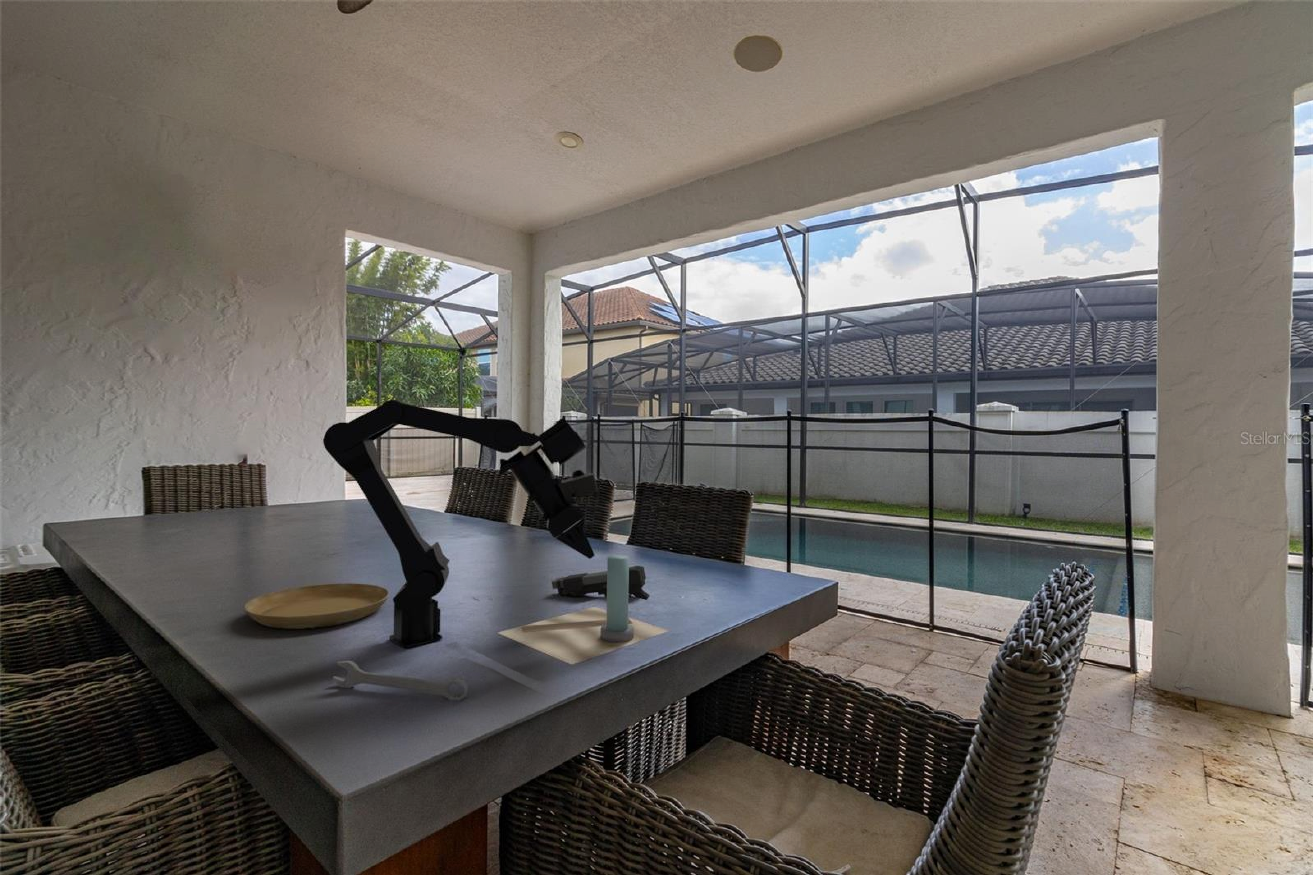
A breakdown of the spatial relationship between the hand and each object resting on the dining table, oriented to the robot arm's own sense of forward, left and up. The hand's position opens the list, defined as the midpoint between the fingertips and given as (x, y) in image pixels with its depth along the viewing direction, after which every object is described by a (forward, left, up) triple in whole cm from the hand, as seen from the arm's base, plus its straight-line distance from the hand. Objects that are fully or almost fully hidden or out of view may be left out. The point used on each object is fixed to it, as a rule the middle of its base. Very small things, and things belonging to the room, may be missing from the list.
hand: (589, 551), depth 108 cm
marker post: (-1, -9, -13) cm, 16 cm away
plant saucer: (-30, +43, -15) cm, 55 cm away
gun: (+16, +14, -15) cm, 26 cm away
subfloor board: (-3, -3, -14) cm, 15 cm away
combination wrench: (-35, -1, -15) cm, 38 cm away
